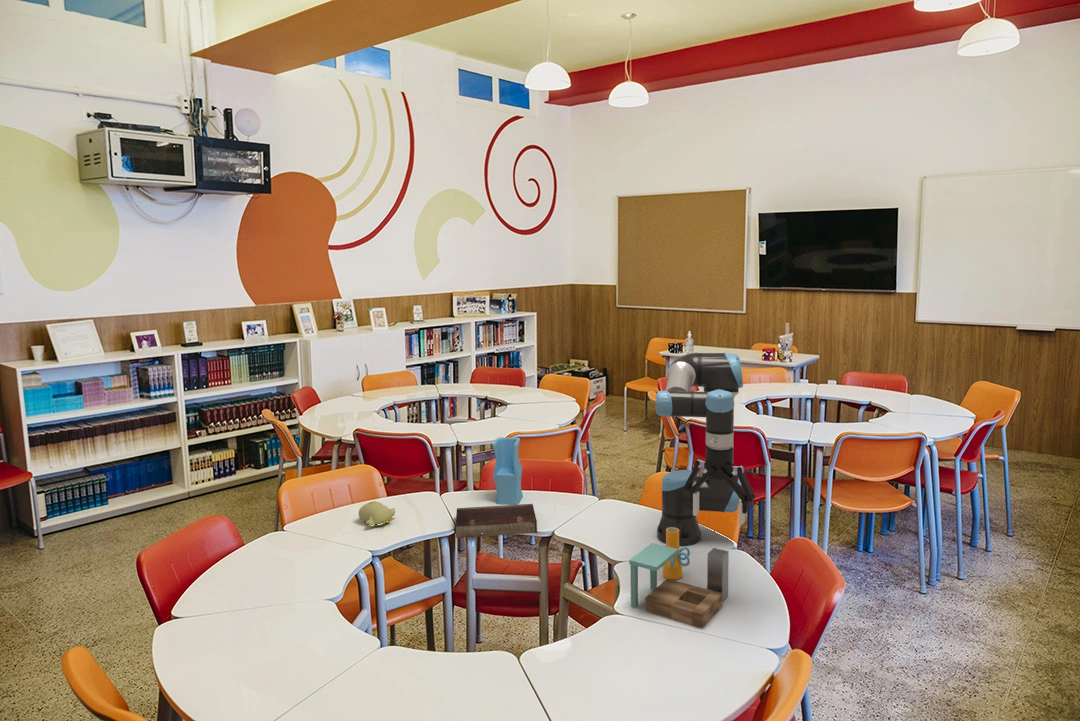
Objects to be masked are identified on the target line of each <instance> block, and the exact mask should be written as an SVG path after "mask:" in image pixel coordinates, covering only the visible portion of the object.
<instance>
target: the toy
mask: <svg viewBox="0 0 1080 721" xmlns="http://www.w3.org/2000/svg"><path fill="white" fill-rule="evenodd" d="M395 513H396V508H395V507H393V508H390V507H388V506H386V505H385V504H383V503H381V502H379V501H375V500H373V501H370V502H367V503H365V504H364V505H362V506H361V507H360V508H359V510H358V516H359V519H361V520H362V521H363V520H364V521H363V522H365V521H367V522H365V524H366V525H367V526H371V525H374V524H381V523H383V524H384V525H386V524H387V523H388V522H387V521H389V522H391V521H393V520H395V517H394V516H395V515H396V514H395ZM385 523H386V524H385ZM375 526H376V527H381V526H382V525H374V527H375Z"/></svg>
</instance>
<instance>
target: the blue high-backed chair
mask: <svg viewBox="0 0 1080 721" xmlns="http://www.w3.org/2000/svg"><path fill="white" fill-rule="evenodd" d="M520 440H521V438H520V437H497V438H496V439H495V440H494V441H493V442H492V443H491V444H492V445H491V446H492V449H493V451H494V455H495V465H494V468H493V469H494V470H493V474H492V477H493V481H494V484H495V490H496V496H495V504H496V505H520V503H521V501H522V499H523V498H524V495H523V491H522V475H523V474H522V473H523V466H522V464H521V460H520V458H519V457H520V456H519V446H520V443H521V442H520Z"/></svg>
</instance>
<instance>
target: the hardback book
mask: <svg viewBox="0 0 1080 721" xmlns="http://www.w3.org/2000/svg"><path fill="white" fill-rule="evenodd" d="M533 504H534V503H524V504H520V503H519V504H517V505H506V504H502V505H490V506H489V505H488V506H487V505H486V506H474V507H473V506H471V507H457V508H456V518H455V538H456V539H461V538H462V539H464V538H477V537H478V538H480V537H493V536H495V537H496V536H507V535H509V536H510V535H523V534H524V535H527V534H537V533H538V521H537V517H536V516H537V515H536V513H535V508H534V505H533ZM481 533H483V534H481Z"/></svg>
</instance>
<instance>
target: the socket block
mask: <svg viewBox="0 0 1080 721" xmlns="http://www.w3.org/2000/svg"><path fill="white" fill-rule="evenodd" d="M644 602H645V604H644V605H645V612H647V613H650V614H653V615H658V616H661V617H663V618H667V619H670V620H673V621H677V622H680V623H683V624H687V625H690V626H693V627H695V628H696V627H697V628H699V629H703V628H704V627H705V626H706V625H707V624H708V623H709V622H710V620H711V619H713V617H714V616H715V615H716V614H717V613H718V612H719V611H720V610H721V609H722V607H723V603H722V593H720V592H716V591H712V590H709V589H707V588H704V587H701V586H697V585H692V584H689V583H686V582H682V581H679V580H676V579H675V580H672V579H668V578H665V580H663V582H661V583H660V585H657V588H656V589H655V590H652V591H651V592H650V593H649V594H648V595H647V596H646V597H645V598H644Z"/></svg>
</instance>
